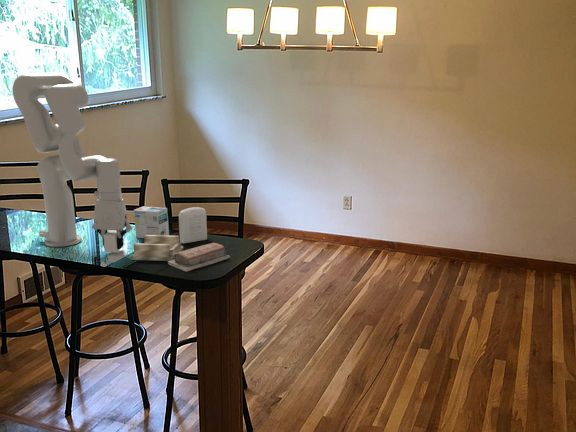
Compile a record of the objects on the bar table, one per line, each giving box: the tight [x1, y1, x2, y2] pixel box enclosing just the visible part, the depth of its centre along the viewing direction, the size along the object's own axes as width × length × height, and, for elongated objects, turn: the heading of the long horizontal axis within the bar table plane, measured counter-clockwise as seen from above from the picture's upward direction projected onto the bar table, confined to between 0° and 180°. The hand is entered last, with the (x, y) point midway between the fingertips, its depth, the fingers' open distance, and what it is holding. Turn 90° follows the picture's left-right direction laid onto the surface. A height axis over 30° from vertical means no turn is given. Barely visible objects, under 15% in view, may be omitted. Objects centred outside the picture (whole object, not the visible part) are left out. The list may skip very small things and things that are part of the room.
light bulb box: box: [133, 205, 170, 239], centre depth 221 cm, size 11×7×11 cm, turn 71°
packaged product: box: [167, 242, 231, 272], centre depth 194 cm, size 18×5×10 cm
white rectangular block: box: [103, 230, 121, 253], centre depth 204 cm, size 4×6×6 cm, turn 173°
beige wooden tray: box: [130, 234, 184, 262], centre depth 202 cm, size 14×13×5 cm
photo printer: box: [178, 206, 208, 244], centre depth 215 cm, size 10×4×12 cm, turn 123°
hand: (113, 247), depth 204 cm, fingers closed on white rectangular block, 4 cm apart
